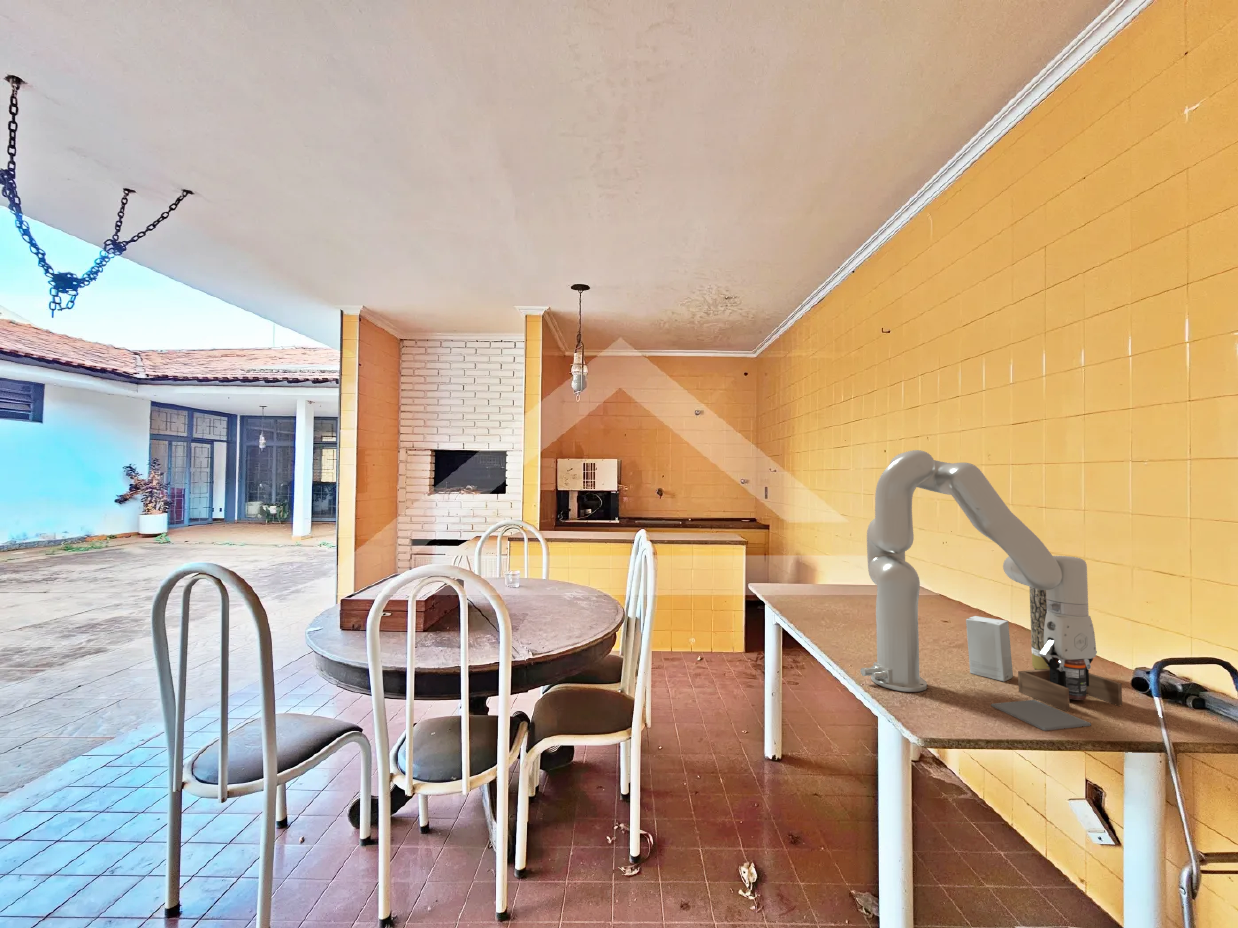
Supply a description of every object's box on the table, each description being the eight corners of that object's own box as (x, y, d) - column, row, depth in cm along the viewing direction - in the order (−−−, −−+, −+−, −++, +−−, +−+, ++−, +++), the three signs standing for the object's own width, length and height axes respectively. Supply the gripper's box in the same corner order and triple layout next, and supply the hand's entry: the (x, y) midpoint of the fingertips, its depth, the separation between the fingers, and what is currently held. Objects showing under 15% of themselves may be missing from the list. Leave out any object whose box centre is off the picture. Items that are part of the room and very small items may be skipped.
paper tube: (1069, 676, 134) (1066, 581, 136) (1038, 673, 137) (1035, 580, 138) (1057, 667, 141) (1053, 577, 142) (1027, 664, 143) (1024, 575, 144)
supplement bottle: (1055, 688, 124) (1054, 641, 125) (1088, 696, 120) (1087, 647, 120) (1050, 694, 120) (1049, 646, 121) (1084, 703, 116) (1083, 653, 116)
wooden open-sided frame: (1066, 711, 113) (1065, 688, 114) (1018, 691, 124) (1017, 671, 124) (1122, 705, 116) (1121, 683, 117) (1071, 686, 127) (1070, 666, 128)
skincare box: (1013, 678, 133) (1011, 620, 134) (1003, 682, 130) (1001, 624, 131) (977, 668, 140) (975, 614, 141) (967, 672, 137) (965, 617, 138)
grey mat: (1044, 730, 104) (1044, 728, 104) (991, 705, 116) (991, 703, 116) (1090, 725, 107) (1090, 723, 107) (1034, 701, 118) (1034, 699, 118)
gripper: (1054, 614, 116) (1056, 694, 115) (1113, 610, 119) (1116, 688, 118) (1022, 606, 123) (1024, 681, 122) (1078, 603, 126) (1081, 676, 125)
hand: (1069, 684), depth 120 cm, fingers closed on supplement bottle, 6 cm apart
